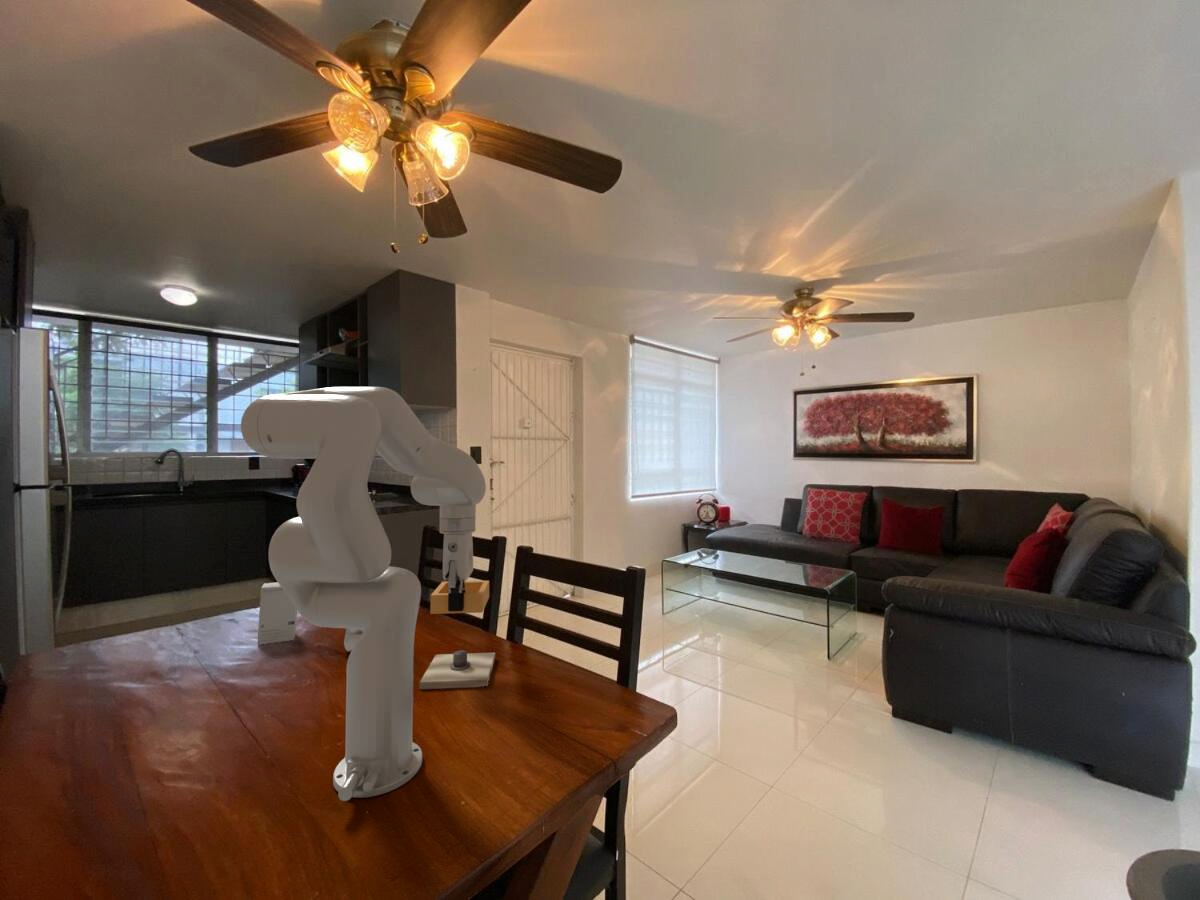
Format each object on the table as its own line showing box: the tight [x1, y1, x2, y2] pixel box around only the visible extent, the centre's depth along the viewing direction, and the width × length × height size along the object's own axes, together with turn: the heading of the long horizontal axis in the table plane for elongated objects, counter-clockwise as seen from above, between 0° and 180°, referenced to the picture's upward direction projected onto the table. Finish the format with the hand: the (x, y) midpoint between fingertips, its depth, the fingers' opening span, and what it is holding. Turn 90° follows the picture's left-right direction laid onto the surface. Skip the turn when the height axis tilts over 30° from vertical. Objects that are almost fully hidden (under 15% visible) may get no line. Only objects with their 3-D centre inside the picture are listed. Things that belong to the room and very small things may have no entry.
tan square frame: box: [429, 580, 490, 615], centre depth 108 cm, size 11×11×4 cm
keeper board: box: [419, 649, 496, 690], centre depth 107 cm, size 14×14×4 cm
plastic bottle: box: [343, 628, 363, 653], centre depth 119 cm, size 6×7×20 cm
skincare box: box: [256, 581, 298, 646], centre depth 126 cm, size 8×6×15 cm
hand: (456, 609), depth 103 cm, fingers closed on tan square frame, 1 cm apart
